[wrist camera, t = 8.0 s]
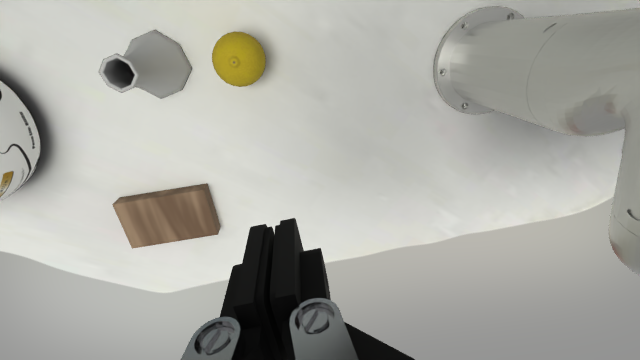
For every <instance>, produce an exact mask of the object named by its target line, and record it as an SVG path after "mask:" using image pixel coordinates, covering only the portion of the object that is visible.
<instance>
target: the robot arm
mask: <svg viewBox="0 0 640 360" xmlns="http://www.w3.org/2000/svg"><path fill="white" fill-rule="evenodd" d="M507 16H508V18H507ZM462 24H463V28H461V25H462ZM440 70H442V72H441V73H440ZM434 78H435V84H436V87H437V89H438V92H439V94H440V95H441V97H442V98H443V100H444V101H445V102H446V103H447V104H448V105H449V106H451V107H453V108H454V109H456V110H458V111H461V112H463V113H468V114H484V113H489V112H492V111H494V110H496V111H499V112H502V113H505V114H508V115H510V116H513V117H516V118H519V119H522V120H525V121H528V122H530V123H533V124H536V125H539V126H542V127H545V128H548V129H550V130H554V131H557V132H560V133H563V134H567V135H572V136H584V137H586V136H598V135H604V134H608V133H611V132H615V131H618V130H622V129H624V128H625V137H624V143H623V148H622V159H621V163H620V168H619V173H618V178H617V183H616V188H615V193H614V198H613V203H612V210H611V215H610V221H609V239H610V243H611V246H612V248H613V250H614V252H615V254H616V255H617V257H618V258H619V259H620V260H621V262H622V263H624V264H625V265H626V266H627V267H628V268H629V269H631V270H632V271H633V272H635V273H636V274H638V275H639V276H640V8H634V9H625V10H615V11H604V12H594V13H585V14H573V15H562V16H550V17H538V18H526V19H525V18H524V17H523V16H522V15H521V14H519V13H518V12H517V11H515V10H512V9H510V8H507V7H500V6H495V7H486V8H481V9H478V10H475V11H473V12H471V13H469V14H467V15H465V16H464V17H462V18H461V19H460V20H458V21H457V22H456V23H455V24H454V25H453V26H452V27H451V28H450V30H449V31H448V32H447V33H446V35H445V36H444V38H443V40H442V42H441V43H440V45H439V48H438V51H437V54H436V58H435V63H434ZM462 104H463V106H462ZM181 360H415V359H413V358H411V357H409V356H407V355H406V354H404V353H402V352H400V351H398V350H396V349H394V348H393V347H390V346H388V345H387V344H385V343H383V342H381V341H379V340H377V339H375V338H374V337H372V336H370V335H368V334H366V333H364V332H362V331H360V330H359V329H357V328H355V327H353V326H351V325H349V324H347V323H345V322H344V321H343V318H342V316H341V313H340V310H339V308H338V307H337V305H336V304H335V303H334V302H332V301H331V299H330V292H329V286H328V279H327V274H326V269H325V264H324V260H323V255H322V251H321V248H318V249H313V250H308V251H303V247H302V243H301V239H300V235H299V231H298V227H297V223H296V219H295V218H293V219H288V220H283V221H280V225H277V226H275V235H274V231H273V228H272V227H267V226H266V224H263V225H258V226H253V227H251V228H250V231H249V236H248V240H247V245H246V249H245V254H244V258H243V263H242V264H239V265H235V266H233V269H232V272H231V276H230V280H229V283H228V287H227V291H226V295H225V299H224V303H223V307H222V310H221V314H220V317H219V318H215V319H213V320H211V321H208V322H207V323H205V324H204V325H203V326H201V327H200V328H199V329H198V330H197V331H196V332H195V333H194V335H193V337H192V338H191V340H190V342H189V344H188V346H187V348H186V350H185V352H184V354H183V356H182V358H181Z"/></svg>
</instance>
